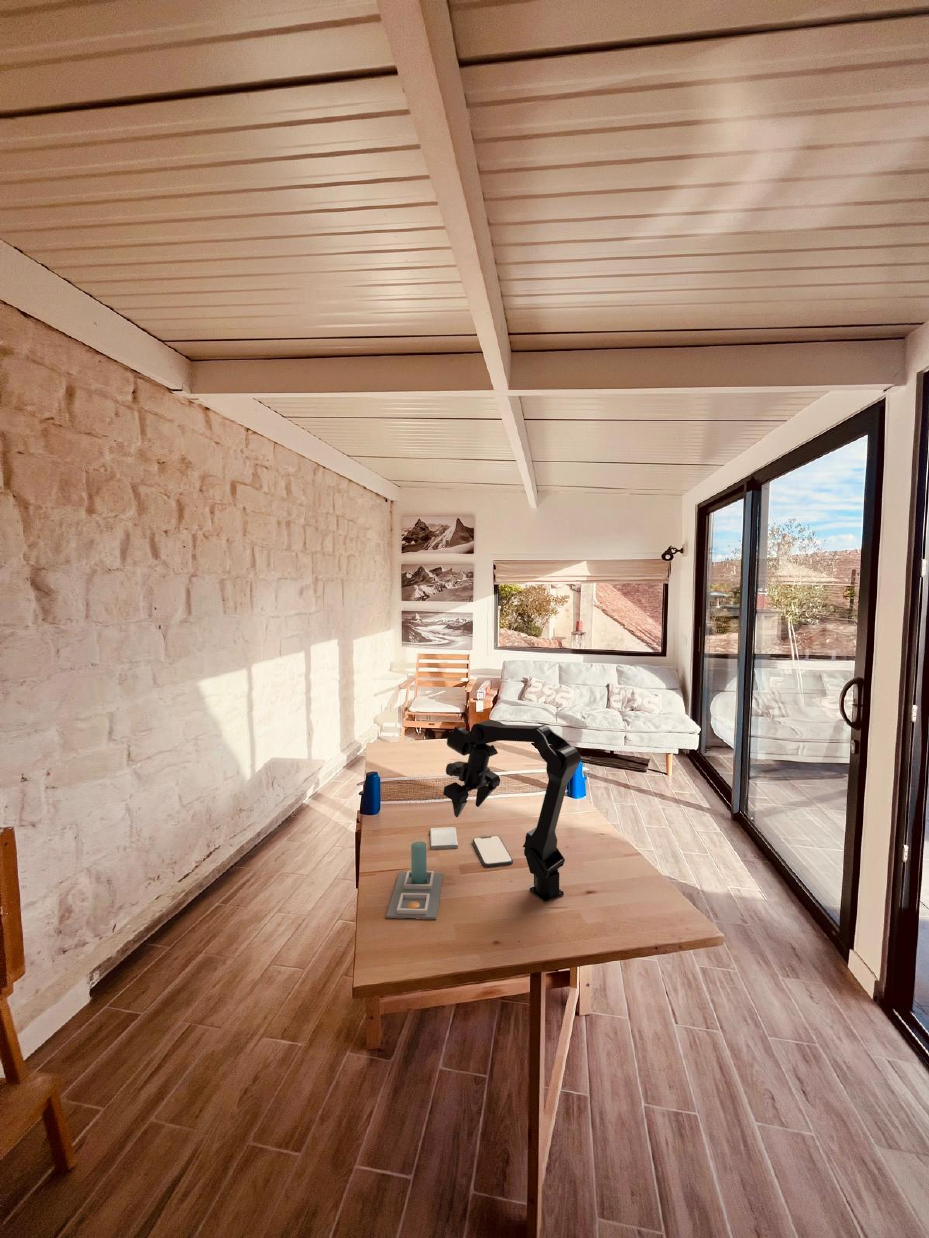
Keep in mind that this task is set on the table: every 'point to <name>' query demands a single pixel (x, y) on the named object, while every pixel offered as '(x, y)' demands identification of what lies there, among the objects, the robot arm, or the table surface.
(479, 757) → the robot arm
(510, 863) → the white smartphone
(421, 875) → the pin
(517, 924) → the table surface
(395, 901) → the pin board
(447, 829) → the hard drive
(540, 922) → the table surface
